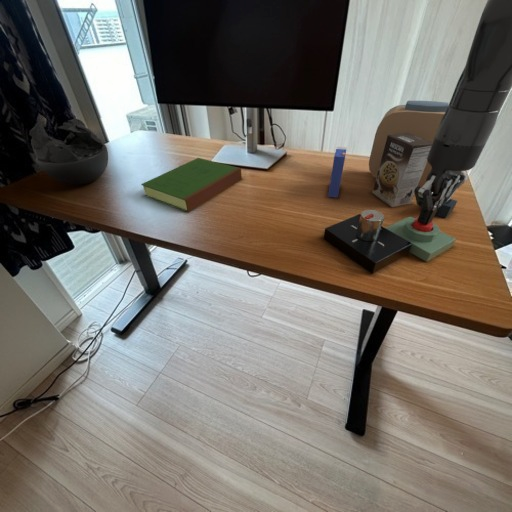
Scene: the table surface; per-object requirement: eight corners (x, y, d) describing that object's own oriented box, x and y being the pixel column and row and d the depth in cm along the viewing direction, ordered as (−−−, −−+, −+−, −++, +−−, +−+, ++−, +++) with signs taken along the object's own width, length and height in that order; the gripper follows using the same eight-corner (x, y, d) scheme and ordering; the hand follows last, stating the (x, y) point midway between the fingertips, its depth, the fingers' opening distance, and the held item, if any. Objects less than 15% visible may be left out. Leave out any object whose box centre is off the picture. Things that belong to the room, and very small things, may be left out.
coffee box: (370, 193, 78) (386, 134, 68) (389, 189, 79) (407, 131, 69) (391, 208, 71) (412, 145, 61) (412, 203, 73) (435, 141, 62)
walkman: (337, 198, 76) (345, 155, 69) (327, 196, 77) (334, 154, 69) (340, 186, 82) (347, 145, 74) (330, 185, 83) (337, 145, 75)
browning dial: (365, 227, 60) (370, 206, 56) (382, 236, 57) (389, 214, 53) (351, 234, 58) (356, 212, 54) (368, 244, 55) (375, 222, 52)
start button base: (451, 247, 58) (460, 231, 56) (426, 262, 55) (434, 246, 52) (406, 223, 65) (412, 209, 63) (381, 235, 62) (386, 221, 60)
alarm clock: (439, 180, 83) (473, 100, 69) (439, 193, 76) (476, 108, 62) (369, 170, 90) (387, 96, 76) (364, 181, 84) (382, 103, 70)
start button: (433, 230, 58) (437, 223, 56) (423, 236, 56) (426, 229, 55) (418, 222, 60) (421, 216, 59) (408, 228, 59) (410, 221, 57)
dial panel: (407, 254, 57) (413, 242, 55) (371, 274, 53) (375, 262, 51) (357, 224, 66) (359, 213, 64) (323, 238, 62) (324, 227, 60)
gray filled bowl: (129, 178, 92) (107, 118, 80) (70, 202, 80) (34, 135, 68) (98, 166, 102) (75, 110, 90) (42, 185, 90) (6, 125, 78)
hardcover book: (188, 212, 73) (186, 200, 71) (144, 195, 82) (141, 184, 79) (243, 178, 89) (242, 167, 86) (201, 167, 97) (199, 157, 95)
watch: (454, 209, 70) (475, 167, 63) (442, 220, 66) (463, 178, 59) (432, 201, 73) (449, 161, 66) (419, 212, 69) (436, 171, 62)
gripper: (460, 125, 51) (426, 206, 62) (416, 138, 46) (387, 224, 57) (505, 134, 46) (459, 220, 57) (461, 151, 41) (420, 241, 52)
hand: (423, 222), depth 57 cm, fingers closed
